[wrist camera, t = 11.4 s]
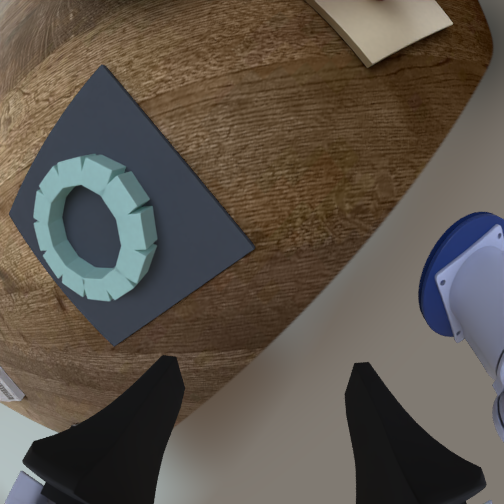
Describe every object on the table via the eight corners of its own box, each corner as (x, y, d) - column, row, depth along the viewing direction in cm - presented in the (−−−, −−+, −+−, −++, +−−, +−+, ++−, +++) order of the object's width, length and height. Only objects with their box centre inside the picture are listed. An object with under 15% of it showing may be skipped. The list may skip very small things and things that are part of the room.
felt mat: (255, 246, 19) (254, 249, 19) (116, 343, 25) (114, 346, 25) (104, 65, 15) (101, 64, 14) (11, 212, 20) (8, 214, 20)
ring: (185, 249, 20) (176, 261, 18) (98, 306, 23) (87, 318, 21) (102, 124, 16) (86, 125, 14) (33, 209, 19) (19, 216, 18)
